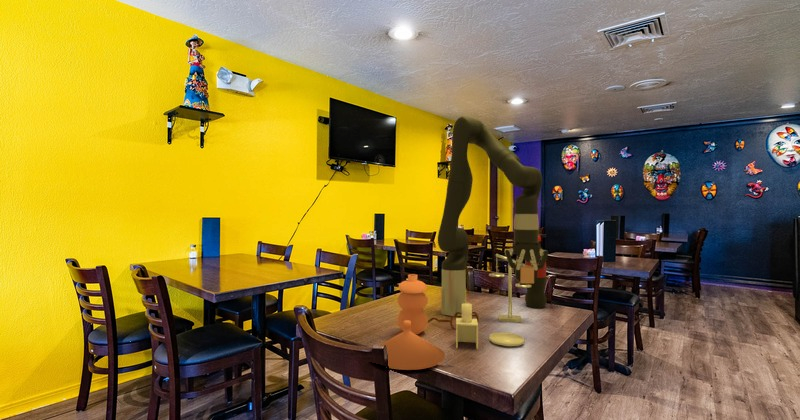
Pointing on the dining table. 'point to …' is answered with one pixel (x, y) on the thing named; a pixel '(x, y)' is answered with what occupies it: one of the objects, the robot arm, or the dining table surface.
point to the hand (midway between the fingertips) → (526, 281)
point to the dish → (506, 339)
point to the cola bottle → (537, 286)
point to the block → (526, 274)
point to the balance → (509, 293)
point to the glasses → (452, 319)
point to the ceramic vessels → (412, 330)
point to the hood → (466, 326)
